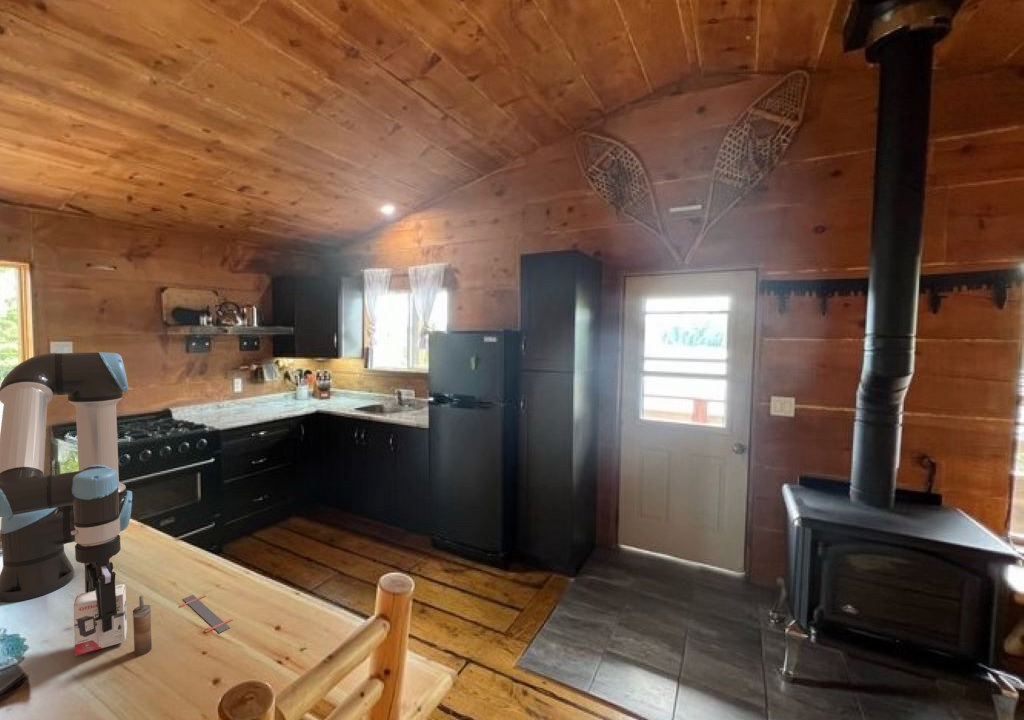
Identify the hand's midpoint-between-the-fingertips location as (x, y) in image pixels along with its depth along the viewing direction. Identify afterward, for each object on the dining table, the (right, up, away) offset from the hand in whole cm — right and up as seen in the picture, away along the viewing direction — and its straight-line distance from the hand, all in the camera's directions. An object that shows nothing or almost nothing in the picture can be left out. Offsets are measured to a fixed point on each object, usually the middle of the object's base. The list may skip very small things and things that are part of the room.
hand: (101, 636), depth 104 cm
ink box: (0, -2, 0) cm, 2 cm away
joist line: (+15, -2, +13) cm, 20 cm away
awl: (+10, -3, -1) cm, 11 cm away
